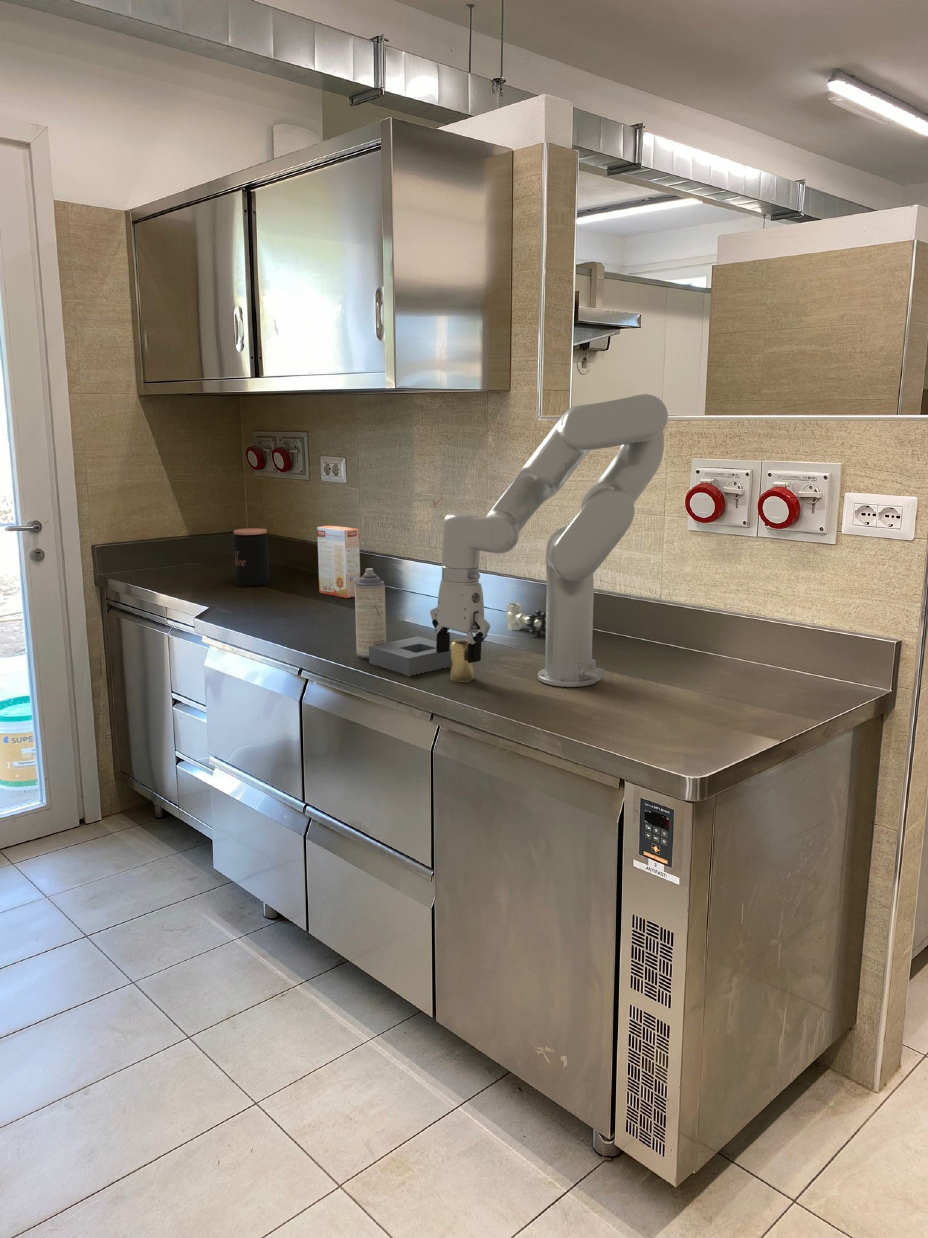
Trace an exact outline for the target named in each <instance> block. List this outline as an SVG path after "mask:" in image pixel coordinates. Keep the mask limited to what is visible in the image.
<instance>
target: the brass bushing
mask: <svg viewBox="0 0 928 1238" xmlns="http://www.w3.org/2000/svg"><path fill="white" fill-rule="evenodd" d="M469 643H470V641H469V639H468V638H467V639H466V638H462V639H461V638H457V639H453V640H450V654H451V667H450V681H451V680H453V681H452V682H454V681H471V680H472V679H474V680H475V675H474V674H475V671H474V670H475V662H473V663H468V661H467V654H468V644H469ZM471 682H472V681H471Z"/></svg>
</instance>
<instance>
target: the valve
mask: <svg viewBox="0 0 928 1238" xmlns="http://www.w3.org/2000/svg"><path fill="white" fill-rule="evenodd" d="M522 610H523V604H522V603H519V602H511V603H507V604H506V615H505V619H506V622H507V623H506V630H508V631H511V630H513V631H514V630H516V631H521V630H522V626H524V625H526V627H528V628H531V630H530V629H529V630H528V634H530V635H534V636H535V637H541V634H542V633H546V612H545V611H543V612H541V610H539V609H536V610H535V612H534V613H535V614H531V613H530V614H529V616H528V615H527V614H526V613H523V612H522ZM541 621H542V622H541ZM537 628H538V629H537ZM520 629H521V630H520ZM513 631H512V632H513Z"/></svg>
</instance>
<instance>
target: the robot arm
mask: <svg viewBox="0 0 928 1238" xmlns="http://www.w3.org/2000/svg"><path fill="white" fill-rule="evenodd" d="M668 419H669V413H668V408H667V407H666V405H665V403H664V402H663V401H662V400H661V399H660V398H659V397H658V396H656V395H653V394H649V393H648V394H647V393H645V394H644V393H643V394H637V395H632V396H628V397H623V398H619V399H618V398H617V399H614V400H607V401H602V402H597V403H596V402H594V403H589V404H579V405H574V406H571V407H570V408H569V409H567V410H566V411H565V412H564V413H563V414H562V416H561V417H560V418H559V419H558V421H557V422H556V423H555V424H554V426H553V427H552V428H551V430H550V431H549V433H548V434H547V435H546V436H545V437H544V439H543V440H542V442H541V443H540V444H539V446H538V447H536V450H535V451H534V452H533V453H532V455H531V456H530V457H529V458H528V460H527V461H526V463H525V464H524V465H523V466H522V468H521V469H520V470H519V473H517V476H515V478H514V480H513V481H512V482H511V484H510V485H509V486H508V488H507V489H506V490H505V491H504V493H503V494H502V495H501V497H499V499H498V501H496V503H495V505H494V506H493V507H492V508H491V510H490V511H489V512H488V514H487V515H486V516H484V517H478V515H476V514H473V513H472V514H471V513H462V512H461V513H459V512H457V513H456V512H455V513H449V514H446V516H444V518H443V523H442V560H441V563H442V564H441V580H440V585H439V588H438V597H437V606H436V607H435V608H432V609H431V610H430V611H429V613H430V617H431V620H432V621H431V623H432V626H433V628H434V633H435V634H436V639H435V641H436V652H437V653H443V652H448V651H449V650H450V642H451V634H450V633H451V632H450V631H449V630H451V631H455V632H459V633H462V634H466V636H467V639H468V640H469V641H470V643H469V644H468V654H467V661H468V663H473V662H474V663H477V662H480V661H481V660H482V644H483V643H484V642H485V639H486V638H487V636H488V633H489V631H490V629H491V624H490V622H488V621H487V620H486V618H485V603H484V592H483V587H482V583H480V579H481V574H480V558H481V557H480V555H481V553H480V552H487V553H492V554H498V555H499V554H505V553H508V552H510V551H512V550H513V549H514V548H515V546H516V545H517V544H518V542H519V537H520V531H521V530H522V529H523V527H525V525H526V523H527V522H528V521H529V520H530V519H531V517H532V516H533V515H534V514H535V512H536V511H537V510H538V509H539V508H540V507H541V506H542V505H543V504H544V503H546V501H548V500H549V499H551V498H552V497H554V496H555V495H556V494H557V493H558V492H559V491H560V490H561V489H562V488H563V487H564V485H565V483H567V481H568V480H569V478H570V477H571V476H572V474H573V473H574V472H575V471H576V469H577V468H578V467H579V465H580V464H581V463H582V461H583V460H585V458H586V457H587V455H588V454H589V453H590V452H591V451H594V450H600V449H601V450H602V449H607V448H613V447H619V448H618V451H617V453H616V455H615V456H614V457H613V459H612V460H611V461H610V463H608V464H609V465H608V466H607V468H605V470H604V472H602V473H601V475H600V477H598V479H596V482H595V483H594V484H593V485H592V486H591V487H590V488H589V490H587V491H586V493H585V494H584V496H583V497H582V499H581V503H580V510H579V512H577V514H576V515H575V517H574V518H573V519H572V520H571V521H570V523H569V525H566V526H563V527H560V528H559V529H557V530H556V531H554V532H553V533H552V534H551V535H550V537H549V539H548V541H547V544H546V548H545V567H546V568H545V571H546V572H545V573H546V575H545V576H546V579H545V580H546V596H545V598H546V600H545V601H546V605H545V613H546V617H545V619H546V625H545V628H546V632H545V657H544V658H545V667H544V668H543V669H540V670H539V671H538V672H537V680H538V681H540V682H541V683H543V684H546V685H550V686H554V687H563V688H564V687H565V688H577V687H587V686H591V685H594V684H596V683H598V681H600V680H601V679H602V677H603V676H604V675H605V671H606V670H605V669H604V668H600V667H597V665H596V664H597V660H596V659H593V658H592V657H593V629H594V628H593V623H594V587H595V586H594V585H595V584H594V573H595V572H596V571H597V570H598V568H600V566H601V565H602V564H603V563H604V561H605V560H606V559H607V557H609V555H610V554H611V553H612V551H613V550H614V549H615V548H616V546H617V545H618V543H619V542H620V541H621V540H622V538H623V537H624V535H625V534H626V533H627V531H628V530H629V529H630V526H631V525H632V523H633V520H634V517H635V513H636V511H635V503H636V502H637V500H638V499H639V497H640V496H641V494H643V492H644V490H645V489H646V488H647V487H648V485H649V484H650V482H651V480H652V479H653V478H654V477H655V475H656V473H657V471H658V469H659V468H660V465H661V463H662V459H663V455H664V451H665V449H664V448H665V433H664V430H665V428H666V427H667V424H668Z"/></svg>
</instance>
